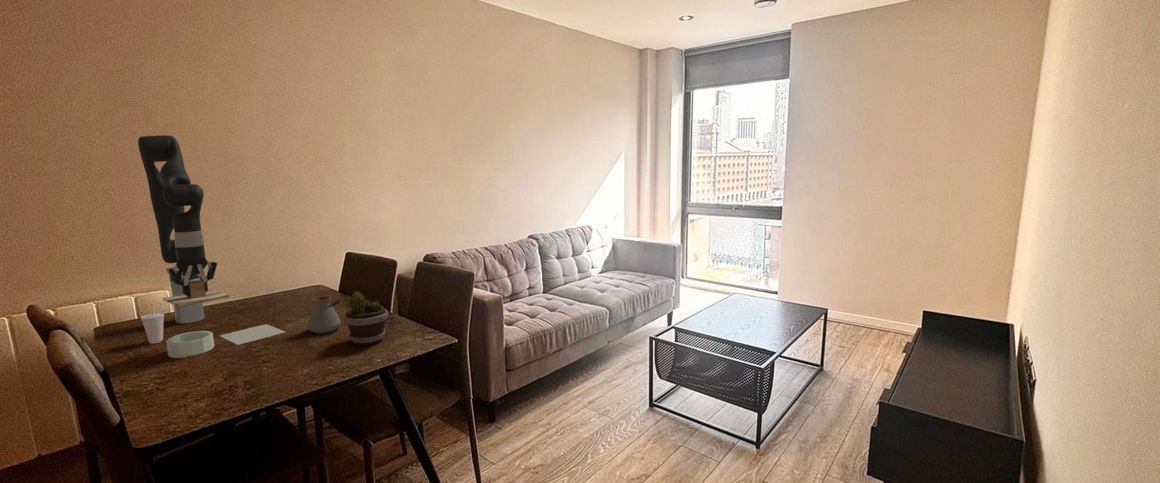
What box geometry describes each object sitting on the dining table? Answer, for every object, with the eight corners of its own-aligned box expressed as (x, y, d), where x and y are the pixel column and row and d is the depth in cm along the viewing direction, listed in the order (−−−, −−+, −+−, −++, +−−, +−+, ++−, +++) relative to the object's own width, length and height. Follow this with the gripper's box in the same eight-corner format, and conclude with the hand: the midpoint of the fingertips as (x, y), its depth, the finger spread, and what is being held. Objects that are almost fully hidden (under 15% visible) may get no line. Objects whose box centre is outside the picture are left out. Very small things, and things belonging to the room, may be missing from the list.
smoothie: (154, 345, 171) (148, 307, 169) (139, 344, 173) (133, 306, 170) (172, 339, 178) (167, 302, 175) (158, 337, 179) (152, 300, 177)
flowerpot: (371, 331, 187) (368, 280, 184) (398, 338, 179) (395, 285, 176) (336, 343, 174) (331, 288, 171) (363, 351, 167) (359, 294, 164)
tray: (219, 336, 180) (219, 335, 180) (266, 325, 193) (266, 324, 193) (238, 345, 171) (237, 344, 171) (286, 333, 184) (286, 332, 184)
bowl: (163, 352, 165) (161, 338, 164) (205, 342, 175) (204, 328, 174) (176, 360, 158) (174, 346, 158) (219, 349, 168) (217, 335, 167)
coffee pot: (302, 331, 186) (299, 293, 184) (333, 324, 195) (330, 287, 192) (326, 345, 172) (322, 304, 170) (358, 336, 181) (355, 297, 179)
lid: (163, 300, 164) (161, 283, 163) (212, 291, 176) (210, 275, 175) (179, 307, 157) (177, 289, 156) (229, 297, 168) (227, 280, 167)
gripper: (209, 240, 171) (215, 288, 174) (158, 246, 159) (165, 297, 162) (219, 242, 167) (224, 291, 170) (167, 248, 155) (174, 300, 158)
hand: (195, 294), depth 166 cm, fingers closed on lid, 4 cm apart
